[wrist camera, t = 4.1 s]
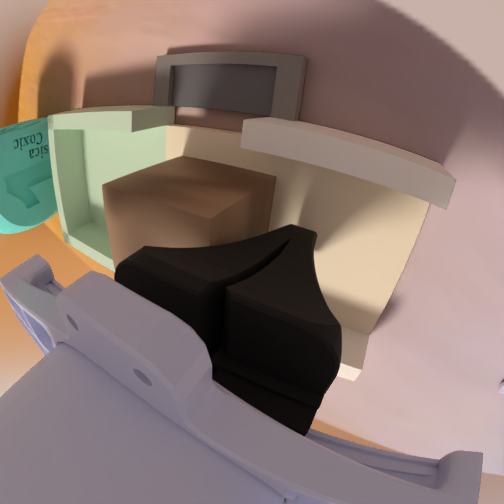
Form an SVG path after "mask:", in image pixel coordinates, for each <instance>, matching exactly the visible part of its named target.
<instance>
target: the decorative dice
mask: <svg viewBox="0 0 504 504" xmlns="http://www.w3.org/2000/svg"><path fill="white" fill-rule="evenodd" d="M57 211H58V207H57V201H56V196H55V189H54V183H53V176H52V168H51V159H50V149H49V136H48V117H44V118H38V119H33V120H28V121H24V122H20V123H17V124H14V125H10V126H7V127H4V128H2V129H0V233H2V234H12V233H18V232H22V231H25V230H28V229H31V228H33V227H35V226H37V225H39V224H41V223H43V222H45V221H46V220H48V219H49V218H51V217H52V216H53V215H54V214H55V213H56V212H57Z"/></svg>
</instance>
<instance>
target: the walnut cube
mask: <svg viewBox="0 0 504 504" xmlns="http://www.w3.org/2000/svg"><path fill="white" fill-rule="evenodd" d="M276 177H277V176H273V175H269V174H265V173H261V172H257V171H253V170H249V169H244V168H240V167H236V166H231V165H227V164H222V163H217V162H212V161H208V160H203V159H198V158H192V157H187V156H180V157H176V158H173V159H170V160H167V161H164V162H161V163H158V164H155V165H152V166H150V167H147V168H144V169H141V170H138V171H136V172H133V173H130V174H128V175H125V176H123V177H120V178H117V179H115V180H112V181H110V182H107V183H105V184H103V185H102V193H103V202H104V209H105V217H106V224H107V230H108V236H109V242H110V248H111V253H112V258H113V263H114V268H115V269H116V267H117V265H118V264H119V263H120V262H121V261H123V260H124V259H126V258H127V257H129V256H130V255H132V254H133V253H135V252H136V251H138V250H139V249H141V248H142V247H144V246H154V247H169V248H192V247H206V246H215V245H223V244H228V243H233V242H238V241H242V240H245V239H249V238H252V237H255V236H259V235H262V234H265V233H267V232H268V229H269V223H270V216H271V210H272V203H273V197H274V190H275V184H276Z"/></svg>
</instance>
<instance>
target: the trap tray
mask: <svg viewBox="0 0 504 504" xmlns="http://www.w3.org/2000/svg"><path fill="white" fill-rule="evenodd" d="M306 65H307V58H306V57H305V56H301V55H292V54H282V53H268V52H245V51H219V52H195V53H182V54H172V55H163V56H157V64H156V75H155V90H154V105H122V106H100V107H87V108H79V109H74V110H69V111H65V112H61V113H56V114H52V115H48V136H49V149H50V159H51V168H52V176H53V183H54V189H55V196H56V201H57V207H58V212H59V217H60V222H61V226H62V231H63V235H64V239H65V242H67V243H68V244H70V245H71V246H73V247H74V248H76V249H77V250H79V251H80V252H82V253H84V254H85V255H87V256H88V257H90V258H92V259H93V260H95V261H97V262H98V263H100V264H101V265H103V266H105V267H106V268H108V269H110V270H112V271H113V272H115V268H114V263H113V258H112V253H111V248H110V242H109V236H108V230H107V224H106V217H105V209H104V202H103V193H102V185H103V184H105V183H107V182H110V181H112V180H115V179H117V178H120V177H123V176H125V175H128V174H130V173H133V172H136V171H138V170H141V169H144V168H147V167H150V166H152V165H155V164H158V163H161V162H164V161H167V160H170V159H173V158H176V157H180V156H187V157H192V158H198V159H203V160H208V161H212V162H217V163H222V164H227V165H231V166H236V167H240V168H244V169H249V170H253V171H257V172H261V173H265V174H269V175H273V176H277V177H276V184H275V190H274V197H273V203H272V210H271V216H270V223H269V229H268V232H270V231H273V230H275V229H278V228H281V227H283V226H286V225H289V224H293V225H296V226H299V227H303V228H306V229H309V230H312V231H315V232H316V233H317V235H318V236H317V240H316V243H315V247H314V263H315V270H316V275H317V279H318V283H319V286H320V289H321V292H322V294H323V296H324V299H325V301H326V303H327V305H328V307H329V309H330V311H331V312H332V313H333V315H334V316H335V318H336V319H337V320H338V322H339V323H340V325H341V329H342V356H341V363H340V368H339V371H338V374H337V376H340V377H342V378H345V379H348V380H351V381H355V379H356V378H357V377H358V375H359V374H360V372H361V371H362V368H363V363H364V359H365V354H366V349H367V344H368V339H369V335H370V333H371V332H372V330H373V328H374V326H375V324H376V323H377V321H378V319H379V317H380V315H381V314H382V312H383V310H384V308H385V306H386V304H387V302H388V300H389V298H390V296H391V294H392V292H393V290H394V288H395V286H396V284H397V282H398V280H399V278H400V276H401V274H402V271H403V269H404V267H405V265H406V263H407V260H408V258H409V256H410V253H411V251H412V249H413V246H414V244H415V241H416V239H417V236H418V234H419V231H420V229H421V226H422V224H423V221H424V218H425V216H426V213H427V210H428V207H429V204H430V203H431V204H433V205H436V206H438V207H441V208H443V209H447V206H448V203H449V201H450V198H451V195H452V192H453V189H454V186H455V183H456V179H455V178H454V177H453V176H452V175H451V174H450V173H449V172H448V171H447V170H446V169H445V168H444V167H442V166H441V165H440V164H439V163H438V162H435V161H433V160H430V159H428V158H425V157H422V156H420V155H417V154H414V153H412V152H409V151H406V150H403V149H401V148H398V147H395V146H392V145H389V144H386V143H383V142H379V141H376V140H373V139H370V138H366V137H363V136H359V135H356V134H352V133H348V132H345V131H341V130H337V129H333V128H329V127H325V126H320V125H316V124H311V123H307V122H302V121H298V120H299V113H300V107H301V100H302V93H303V87H304V80H305V73H306ZM175 106H179V107H196V108H208V109H219V110H229V111H237V112H245V113H252V114H259V115H266V116H271V117H264V118H254V119H244V120H243V127H242V133H240V132H234V131H227V130H221V129H213V128H206V127H198V126H189V125H179V124H174V120H175Z"/></svg>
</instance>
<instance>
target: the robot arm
mask: <svg viewBox="0 0 504 504" xmlns="http://www.w3.org/2000/svg"><path fill="white" fill-rule="evenodd" d="M317 236H318V235H317V233H316V232H315V231H312V230H309V229H306V228H303V227H299V226H296V225H293V224H289V225H286V226H283V227H281V228H278V229H275V230H273V231H270V232H267V233H265V234H262V235H259V236H255V237H252V238H249V239H245V240H242V241H238V242H233V243H228V244H223V245H215V246H206V247H192V248H169V247H154V246H144V247H142V248H141V249H139V250H138V251H136V252H135V253H133V254H132V255H130V256H129V257H127V258H126V259H124V260H123V261H121V262H120V263H119V264H118V265H117V267H116V269H115V276H114V279H115V281H114V280H113V279H111V278H110V277H108V276H106V275H104V274H101V273H98V272H95V271H89V272H88V273H87V274H85V275H84V276H82V277H81V278H80V279H78V280H77V281H75V282H74V283H72V284H71V285H69V286H68V287H67V288H64V287H63V286H62V285H61V284H60V283H58V282H57V281H56V280H55V279H54V275H53V272H52V269H51V267H50V265H49V263H48V262H47V261H46V260H45V259H43V258H42V257H41V256H40V255H39V254H36V255H35V256H33V257H32V258H30V259H28V260H27V261H25V262H24V263H22V264H21V265H19V266H18V267H16V268H15V269H13V270H12V271H10V272H9V273H7V274H6V275H5V276H3V277H2V278H0V283H1V286H2V288H3V290H4V292H5V295H6V296H7V299H8V301H9V303H10V305H11V307H12V309H13V311H14V312H15V314H16V316H17V318H18V320H19V321H20V323H21V324H22V326H23V327H24V328H25V330H26V331H27V332H28V334H29V335H30V336H31V337H32V339H33V340H34V341H35V343H36V344H37V345H38V347H39V348H40V349H41V350H42V352H43V353H44V354H45V355H46V356H45V357H44V358H42V359H41V360H40V361H39V362H38V363H37V364H36V365H35V366H34V367H32V368H31V369H30V370H29V371H28V372H27V373H26V374H25V375H24V376H22V377H21V378H20V379H19V380H18V381H17V382H16V383H15V384H14V385H13V386H12V387H11V388H10V389H9V390H8V391H6V392H5V393H4V394H3V395H2V396H1V397H0V504H478V497H479V491H480V483H481V474H482V462H483V453H482V452H472V451H454V452H451V453H449V454H447V455H445V456H444V457H443V458H441V459H440V460H438V459H430V458H424V457H417V456H412V455H406V454H401V453H396V452H391V451H387V450H382V449H378V448H373V447H370V446H366V445H362V444H358V443H355V442H350V441H348V440H344V439H341V438H338V437H334V436H331V435H328V434H325V433H322V432H319V431H316V430H313V429H310V426H311V424H312V421H313V419H314V416H315V414H316V411H317V409H318V408H319V407H320V405H321V402H322V399H323V397H324V394H325V393H326V391H327V390H328V388H329V387H330V385H331V384H332V382H333V381H334V379H335V378H336V376H337V374H338V371H339V368H340V363H341V356H342V329H341V325H340V323H339V322H338V320H337V319H336V318H335V316H334V315H333V313H332V312H331V311H330V309H329V307H328V305H327V303H326V301H325V299H324V296H323V294H322V292H321V289H320V286H319V283H318V279H317V275H316V270H315V263H314V247H315V243H316V240H317ZM499 392H500V393H502V394H504V382H503V383H502V384H501V385H500V386H499Z"/></svg>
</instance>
